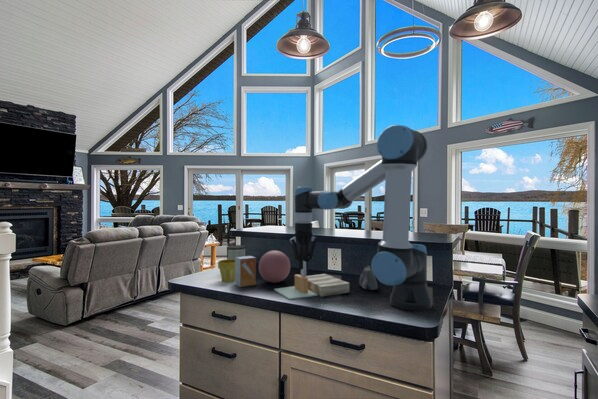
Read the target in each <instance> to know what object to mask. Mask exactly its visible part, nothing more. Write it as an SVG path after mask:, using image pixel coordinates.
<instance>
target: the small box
mask: <svg viewBox="0 0 598 399" xmlns="http://www.w3.org/2000/svg"><path fill="white" fill-rule="evenodd" d="M234 283H235V285H236V286H237V287H239V288H243V287H249V286H250V287H251V286H256V285H257V258H256V257H255V256H252V255H245V256H243V257H235V281H234Z"/></svg>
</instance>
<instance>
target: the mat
mask: <svg viewBox="0 0 598 399" xmlns="http://www.w3.org/2000/svg"><path fill="white" fill-rule="evenodd" d="M273 289H274V290H273V291H274V292H277V293H278V294H279V295H281V296H282V297H283V298H284V297H285V299H287V300H288V301H293V300H297V299H304V298H312V297H318V296H319V295H318V294H317V293H315V292H313V291H311V290H309V289H308V293H302V292H301V291H299V290H297V289H295V285H292V286H287V287H286V286H284V287H279V288H273Z"/></svg>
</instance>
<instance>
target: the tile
mask: <svg viewBox="0 0 598 399" xmlns="http://www.w3.org/2000/svg"><path fill="white" fill-rule="evenodd" d="M294 286H295V289H297V290H299V291H301V292H302V293H308V278H306V277H302V276H301V274H300V273H299V274H294Z"/></svg>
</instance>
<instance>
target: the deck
mask: <svg viewBox="0 0 598 399" xmlns="http://www.w3.org/2000/svg"><path fill="white" fill-rule="evenodd" d="M306 278H308V289H309V290H311V291H313V292H315V293H317V294H318V296H319V297H322V298H323V297H327V296H336V295H341V294H342V295H343V294H347V293H350V282H348V281H345V280H342V279H340V278H337V277H334V276H332V275H329V274H327V273H321V274H313V275H306Z"/></svg>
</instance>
